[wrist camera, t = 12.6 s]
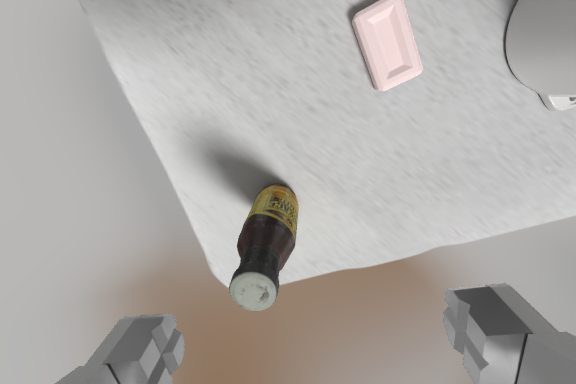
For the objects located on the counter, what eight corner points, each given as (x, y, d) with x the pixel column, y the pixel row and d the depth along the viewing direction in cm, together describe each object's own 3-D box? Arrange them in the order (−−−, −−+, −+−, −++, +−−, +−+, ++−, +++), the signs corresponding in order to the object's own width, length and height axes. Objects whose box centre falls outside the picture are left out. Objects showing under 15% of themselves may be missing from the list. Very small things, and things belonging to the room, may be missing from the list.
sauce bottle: (306, 205, 41) (311, 305, 23) (273, 226, 43) (253, 336, 24) (280, 171, 39) (262, 250, 21) (246, 195, 41) (202, 287, 22)
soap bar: (375, 92, 35) (380, 93, 33) (349, 19, 32) (353, 14, 30) (417, 72, 34) (425, 71, 32) (393, -6, 31) (401, -13, 29)
